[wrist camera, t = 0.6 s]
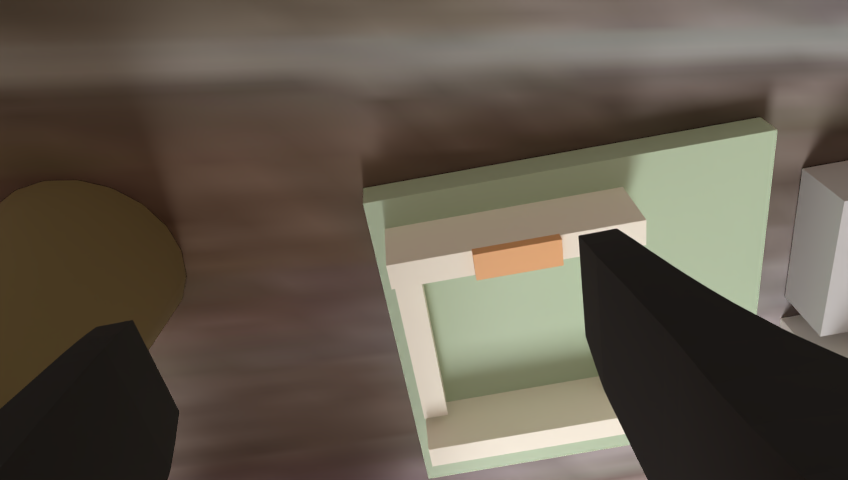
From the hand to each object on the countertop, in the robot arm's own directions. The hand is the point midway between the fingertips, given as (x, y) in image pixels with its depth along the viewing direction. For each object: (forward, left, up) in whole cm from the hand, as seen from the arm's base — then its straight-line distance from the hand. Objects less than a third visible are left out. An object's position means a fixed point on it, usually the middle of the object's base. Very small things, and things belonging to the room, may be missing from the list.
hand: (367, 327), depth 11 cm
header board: (-8, -5, -10) cm, 14 cm away
